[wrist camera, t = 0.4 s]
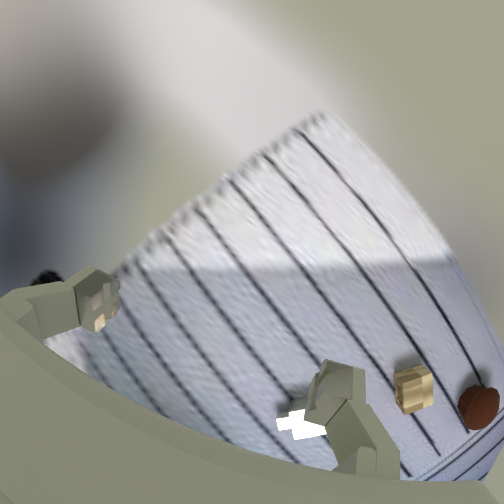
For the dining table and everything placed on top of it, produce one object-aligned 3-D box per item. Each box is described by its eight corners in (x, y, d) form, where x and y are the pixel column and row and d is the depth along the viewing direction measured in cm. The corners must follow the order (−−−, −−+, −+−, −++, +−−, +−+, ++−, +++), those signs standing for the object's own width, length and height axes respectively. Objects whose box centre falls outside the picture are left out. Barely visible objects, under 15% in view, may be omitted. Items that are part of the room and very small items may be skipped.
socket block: (423, 393, 56) (433, 404, 50) (396, 403, 57) (404, 414, 51) (421, 364, 57) (432, 373, 51) (393, 373, 58) (402, 383, 51)
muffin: (485, 409, 53) (504, 423, 43) (453, 426, 54) (469, 443, 44) (487, 372, 54) (507, 384, 44) (453, 389, 55) (472, 404, 45)
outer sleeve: (329, 419, 59) (332, 432, 53) (294, 426, 60) (294, 439, 54) (325, 393, 60) (327, 404, 54) (289, 400, 61) (288, 412, 55)
